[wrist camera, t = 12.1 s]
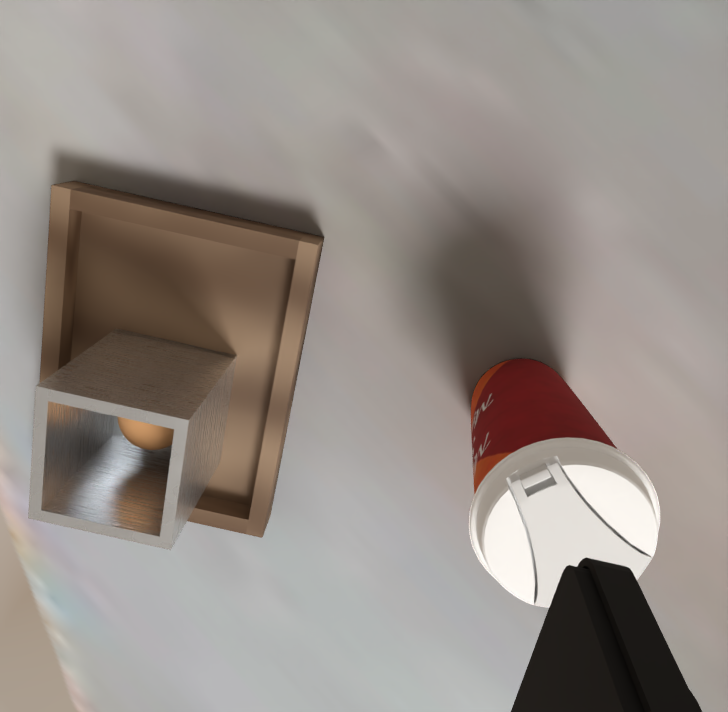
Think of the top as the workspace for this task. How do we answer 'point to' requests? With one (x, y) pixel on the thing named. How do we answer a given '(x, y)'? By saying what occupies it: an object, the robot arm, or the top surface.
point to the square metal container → (113, 451)
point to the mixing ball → (146, 434)
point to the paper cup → (551, 485)
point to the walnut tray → (189, 315)
